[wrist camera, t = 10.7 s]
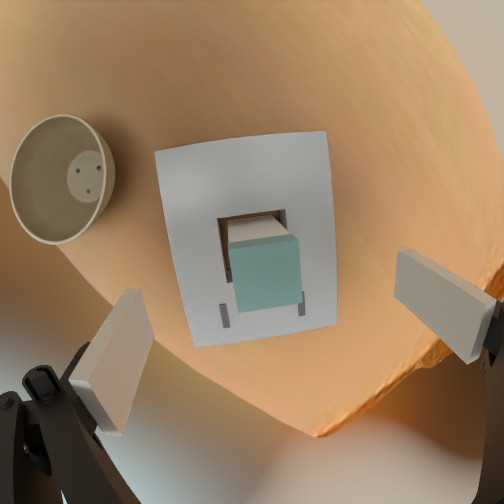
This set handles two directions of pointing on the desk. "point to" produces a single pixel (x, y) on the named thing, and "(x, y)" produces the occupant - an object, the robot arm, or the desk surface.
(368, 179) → the desk surface
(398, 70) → the desk surface
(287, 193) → the outlet plate
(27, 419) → the robot arm
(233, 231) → the block
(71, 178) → the flower pot
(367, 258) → the desk surface
